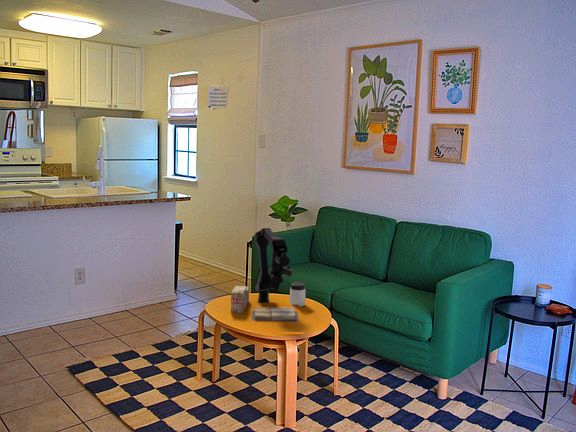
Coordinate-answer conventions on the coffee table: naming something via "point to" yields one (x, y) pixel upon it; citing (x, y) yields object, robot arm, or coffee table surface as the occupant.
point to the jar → (297, 293)
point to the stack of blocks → (239, 299)
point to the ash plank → (283, 313)
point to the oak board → (262, 313)
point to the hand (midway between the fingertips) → (275, 290)
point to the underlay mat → (275, 320)
